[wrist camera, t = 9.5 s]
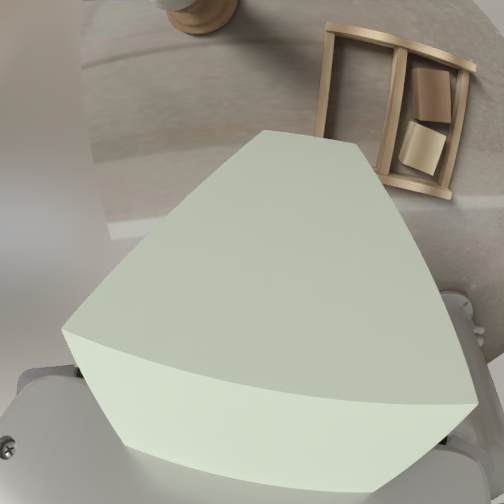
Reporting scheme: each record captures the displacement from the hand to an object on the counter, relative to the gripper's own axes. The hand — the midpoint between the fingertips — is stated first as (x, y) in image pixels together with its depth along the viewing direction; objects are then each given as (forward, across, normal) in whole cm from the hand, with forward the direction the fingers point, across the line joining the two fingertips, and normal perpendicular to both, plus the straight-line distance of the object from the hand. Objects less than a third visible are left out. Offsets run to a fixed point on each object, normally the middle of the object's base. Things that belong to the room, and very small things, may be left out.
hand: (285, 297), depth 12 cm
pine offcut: (+27, -13, -4) cm, 31 cm away
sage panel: (+4, 0, 0) cm, 4 cm away
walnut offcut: (+27, -13, -10) cm, 32 cm away
